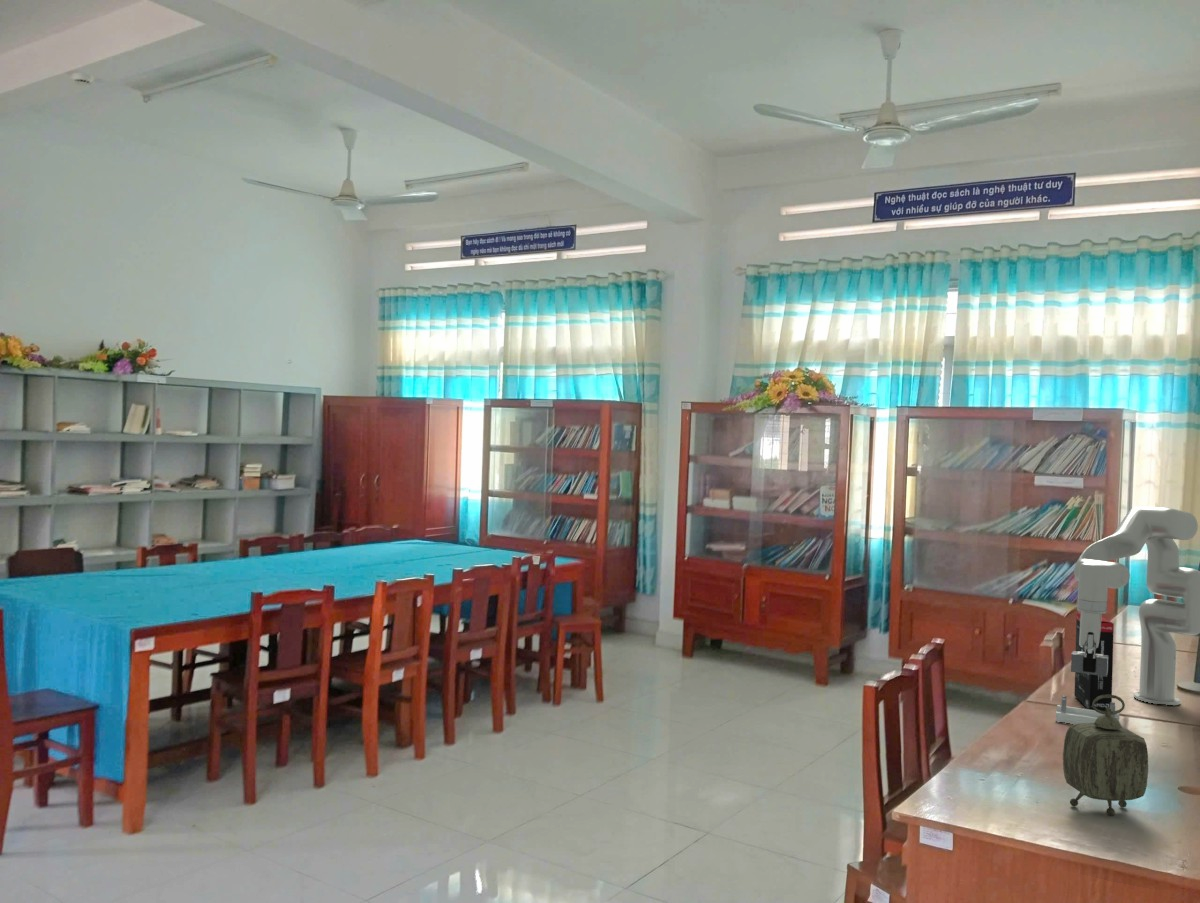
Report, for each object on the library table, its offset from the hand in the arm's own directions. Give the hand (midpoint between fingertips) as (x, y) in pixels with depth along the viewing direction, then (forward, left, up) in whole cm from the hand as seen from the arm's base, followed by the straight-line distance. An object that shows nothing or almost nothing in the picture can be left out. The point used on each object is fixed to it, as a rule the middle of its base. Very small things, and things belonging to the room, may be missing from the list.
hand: (1089, 669), depth 274 cm
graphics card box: (-22, +1, -15) cm, 27 cm away
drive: (0, 0, -1) cm, 1 cm away
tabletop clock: (+76, +4, -15) cm, 77 cm away
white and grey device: (0, 0, -15) cm, 15 cm away
